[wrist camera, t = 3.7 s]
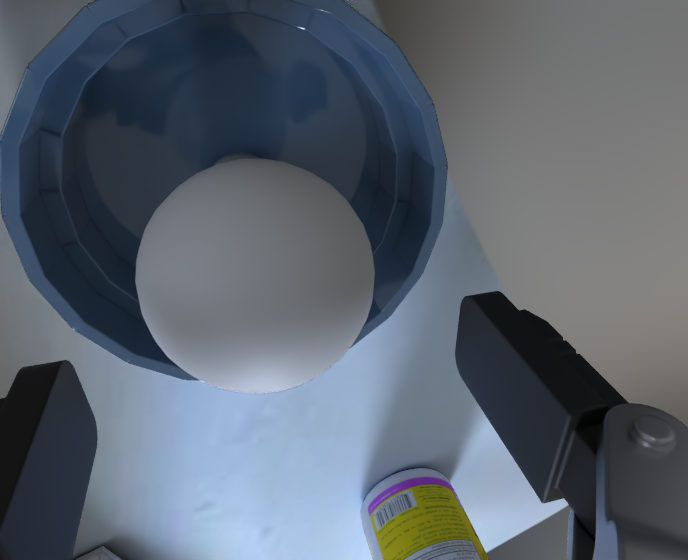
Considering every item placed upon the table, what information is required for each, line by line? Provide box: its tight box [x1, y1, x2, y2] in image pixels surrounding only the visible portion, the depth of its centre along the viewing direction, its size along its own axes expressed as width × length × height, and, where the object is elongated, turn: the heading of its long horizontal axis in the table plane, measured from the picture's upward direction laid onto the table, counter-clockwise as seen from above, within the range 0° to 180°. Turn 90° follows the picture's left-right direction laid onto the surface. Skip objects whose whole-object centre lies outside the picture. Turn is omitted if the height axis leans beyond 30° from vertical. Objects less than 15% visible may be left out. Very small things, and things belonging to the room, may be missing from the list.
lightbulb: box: [135, 152, 375, 394], centre depth 15 cm, size 6×6×11 cm
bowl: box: [0, 0, 448, 381], centre depth 18 cm, size 14×14×4 cm
